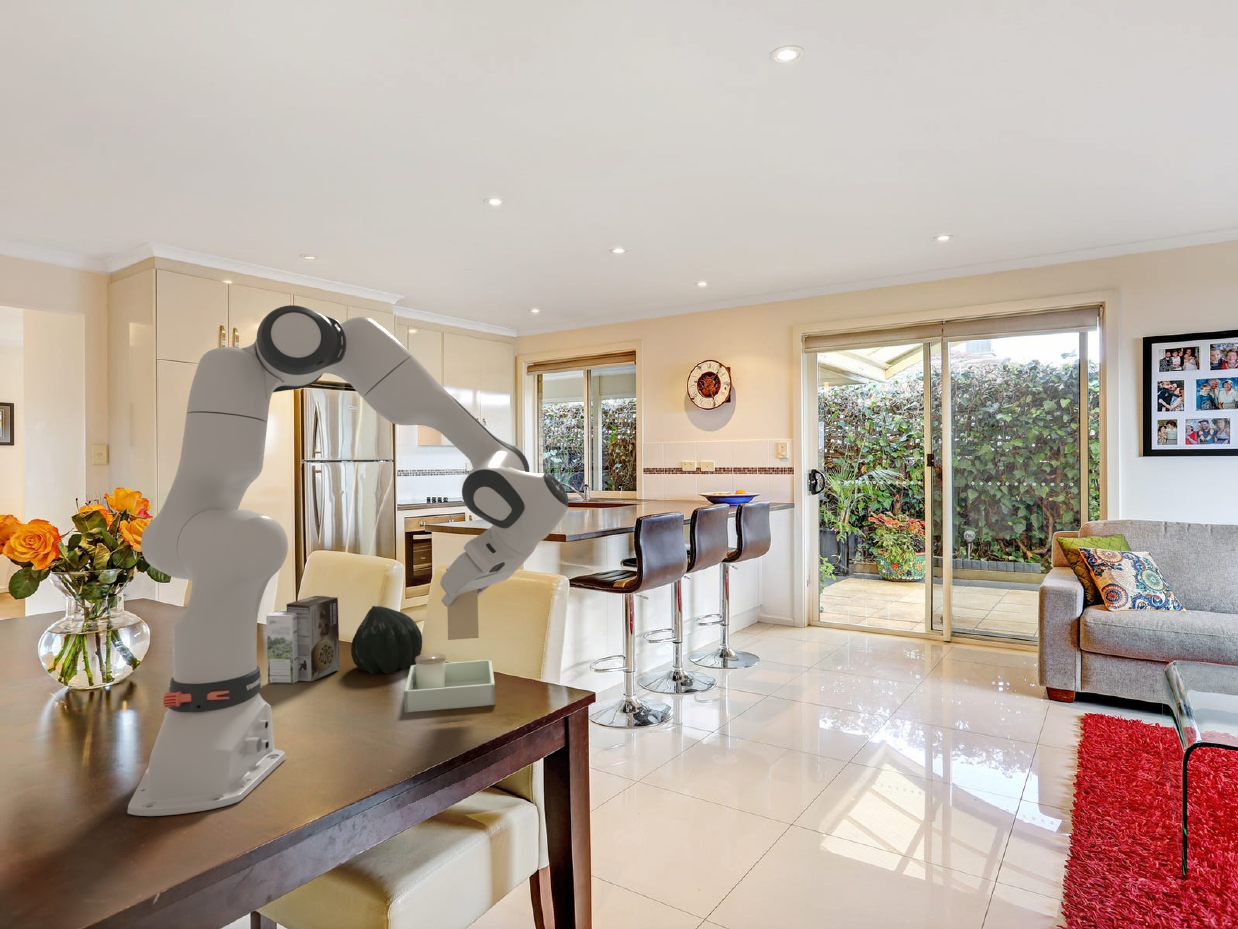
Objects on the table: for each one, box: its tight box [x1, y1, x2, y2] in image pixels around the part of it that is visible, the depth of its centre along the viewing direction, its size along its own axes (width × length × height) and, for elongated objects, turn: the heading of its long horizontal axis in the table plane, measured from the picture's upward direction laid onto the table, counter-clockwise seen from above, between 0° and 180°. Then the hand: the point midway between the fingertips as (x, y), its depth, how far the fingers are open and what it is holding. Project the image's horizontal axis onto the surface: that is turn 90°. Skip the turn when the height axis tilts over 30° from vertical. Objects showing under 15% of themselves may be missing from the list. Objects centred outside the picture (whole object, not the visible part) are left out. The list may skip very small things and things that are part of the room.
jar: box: [415, 652, 446, 690], centre depth 143 cm, size 6×6×6 cm
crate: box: [403, 659, 496, 713], centre depth 139 cm, size 17×16×4 cm
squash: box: [350, 605, 423, 675], centre depth 158 cm, size 14×15×15 cm
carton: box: [445, 563, 480, 641], centre depth 136 cm, size 6×6×13 cm
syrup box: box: [265, 609, 300, 685], centre depth 152 cm, size 6×6×14 cm
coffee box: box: [286, 595, 341, 682], centre depth 155 cm, size 9×6×16 cm
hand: (460, 598), depth 136 cm, fingers closed on carton, 8 cm apart
